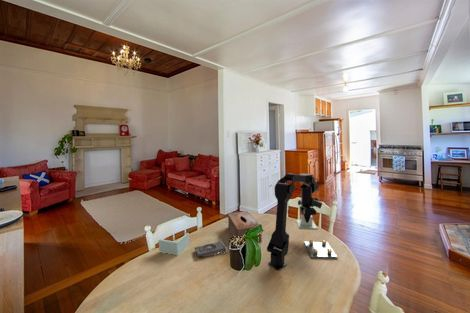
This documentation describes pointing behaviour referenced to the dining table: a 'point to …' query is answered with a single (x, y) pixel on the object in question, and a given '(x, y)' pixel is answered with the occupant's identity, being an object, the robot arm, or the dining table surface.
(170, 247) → the right angle wall
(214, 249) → the graphics card
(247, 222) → the tissue box cover
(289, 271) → the dining table surface
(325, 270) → the dining table surface
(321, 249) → the chassis plate
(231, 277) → the dining table surface
